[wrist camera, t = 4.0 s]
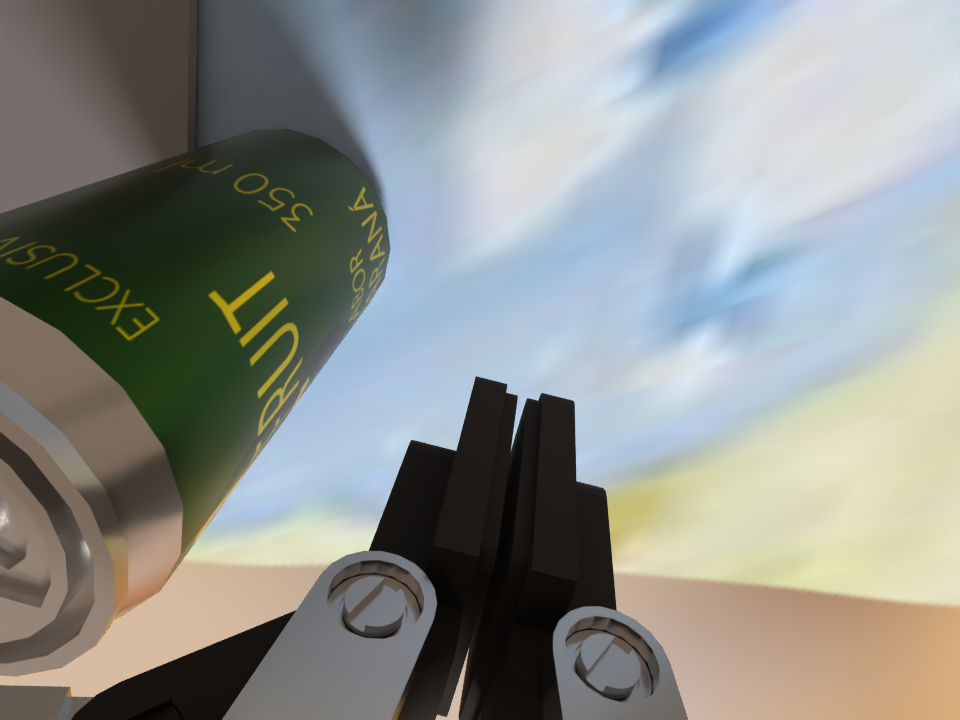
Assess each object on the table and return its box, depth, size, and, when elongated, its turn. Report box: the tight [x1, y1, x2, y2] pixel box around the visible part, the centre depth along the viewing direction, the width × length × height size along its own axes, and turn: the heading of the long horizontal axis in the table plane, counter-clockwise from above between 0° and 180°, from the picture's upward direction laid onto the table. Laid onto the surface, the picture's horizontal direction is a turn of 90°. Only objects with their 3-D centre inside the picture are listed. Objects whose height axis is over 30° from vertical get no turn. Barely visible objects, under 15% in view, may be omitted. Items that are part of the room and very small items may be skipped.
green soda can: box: [0, 129, 390, 676], centre depth 12 cm, size 5×5×12 cm
